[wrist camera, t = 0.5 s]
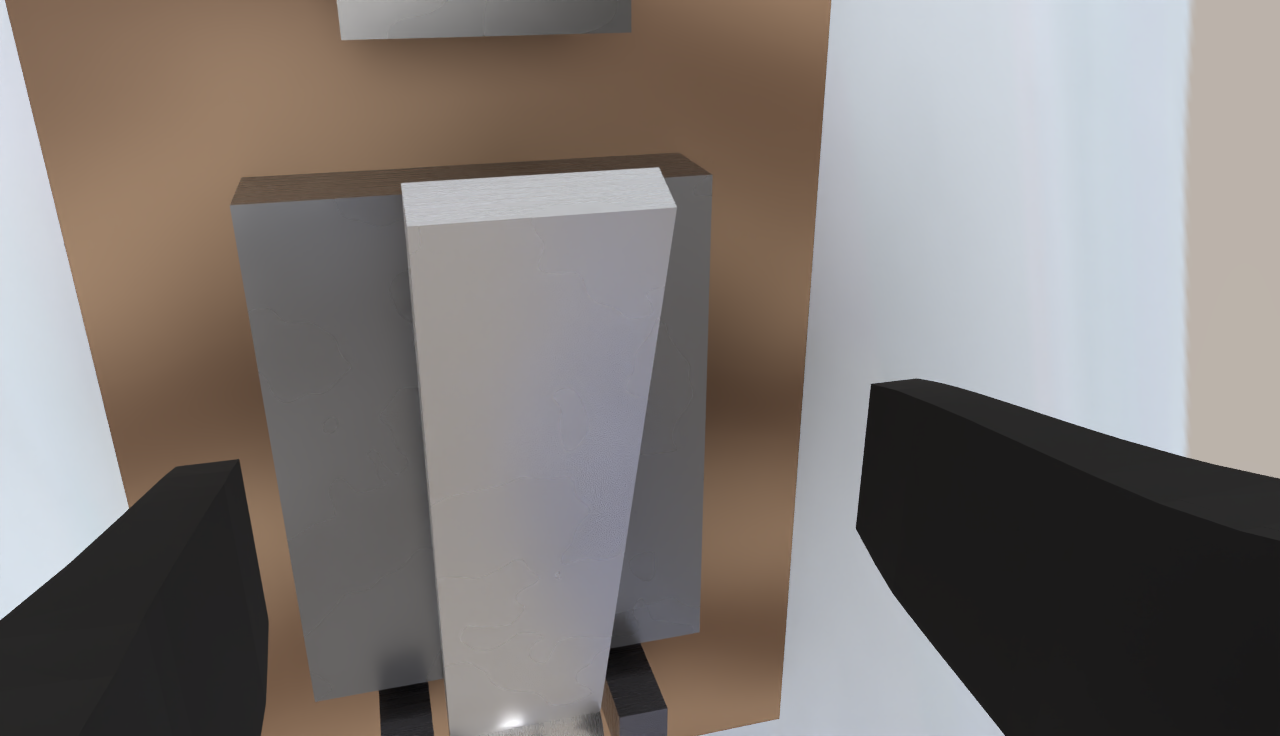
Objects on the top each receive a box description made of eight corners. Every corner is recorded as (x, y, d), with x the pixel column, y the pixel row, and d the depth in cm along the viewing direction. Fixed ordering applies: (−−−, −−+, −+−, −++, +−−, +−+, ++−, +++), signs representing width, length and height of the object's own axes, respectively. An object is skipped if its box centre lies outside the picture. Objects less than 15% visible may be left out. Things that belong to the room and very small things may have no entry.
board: (758, 680, 27) (779, 718, 26) (216, 786, 24) (209, 836, 23) (806, -130, 19) (840, -134, 18) (0, -141, 16) (-31, -148, 15)
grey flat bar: (588, 697, 21) (602, 756, 20) (448, 725, 21) (455, 786, 20) (658, 167, 12) (689, 234, 11) (399, 183, 11) (411, 256, 10)
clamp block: (671, 634, 24) (728, 756, 20) (327, 696, 22) (323, 842, 18) (682, -111, 17) (768, -122, 14) (192, -116, 15) (147, -130, 12)
